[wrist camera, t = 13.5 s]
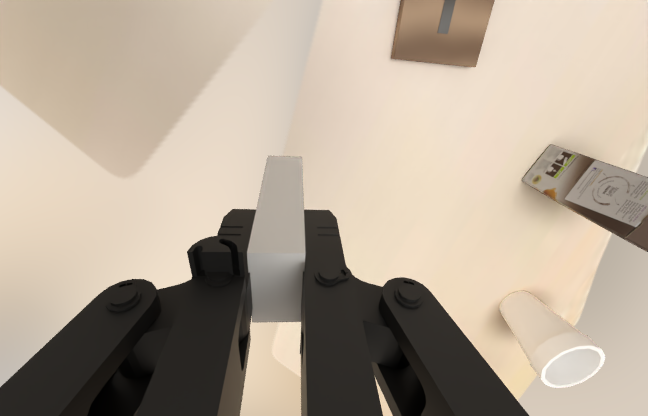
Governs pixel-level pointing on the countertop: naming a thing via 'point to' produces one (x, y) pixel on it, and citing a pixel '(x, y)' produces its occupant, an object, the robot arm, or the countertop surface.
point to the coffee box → (595, 192)
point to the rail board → (441, 31)
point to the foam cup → (550, 341)
